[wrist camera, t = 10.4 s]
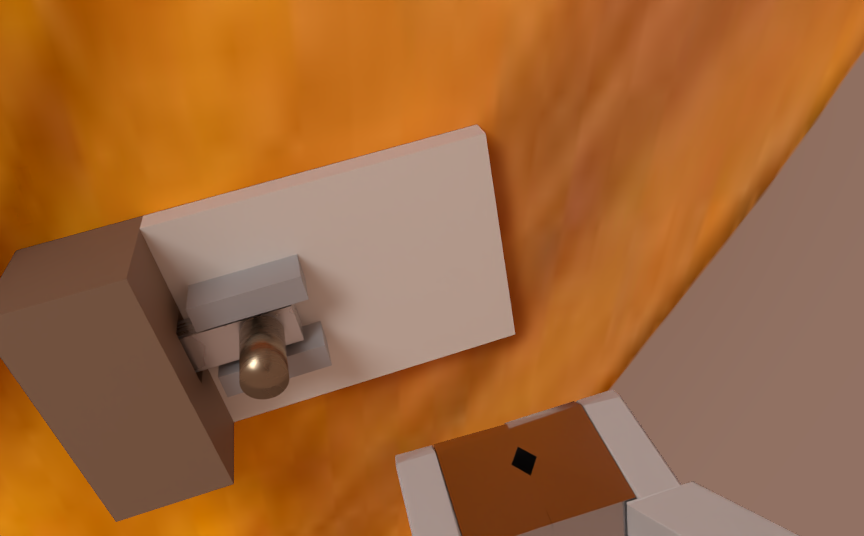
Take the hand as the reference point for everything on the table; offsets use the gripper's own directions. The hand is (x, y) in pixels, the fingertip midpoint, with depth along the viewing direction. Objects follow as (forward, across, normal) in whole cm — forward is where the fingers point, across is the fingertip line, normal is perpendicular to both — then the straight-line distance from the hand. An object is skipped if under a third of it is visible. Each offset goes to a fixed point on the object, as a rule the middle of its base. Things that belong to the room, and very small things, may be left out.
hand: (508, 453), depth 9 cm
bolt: (+26, +11, +14) cm, 32 cm away
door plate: (+28, +6, +14) cm, 32 cm away
